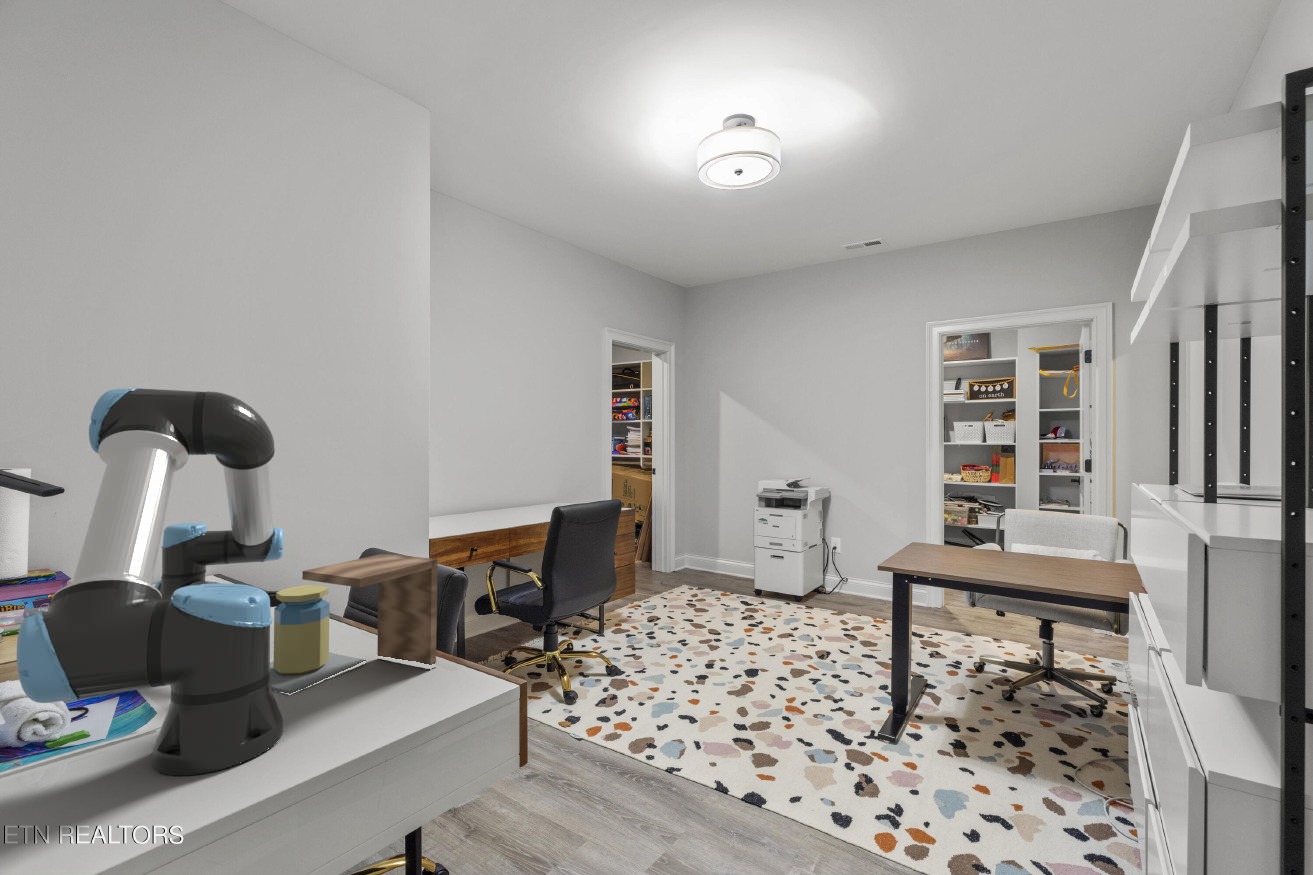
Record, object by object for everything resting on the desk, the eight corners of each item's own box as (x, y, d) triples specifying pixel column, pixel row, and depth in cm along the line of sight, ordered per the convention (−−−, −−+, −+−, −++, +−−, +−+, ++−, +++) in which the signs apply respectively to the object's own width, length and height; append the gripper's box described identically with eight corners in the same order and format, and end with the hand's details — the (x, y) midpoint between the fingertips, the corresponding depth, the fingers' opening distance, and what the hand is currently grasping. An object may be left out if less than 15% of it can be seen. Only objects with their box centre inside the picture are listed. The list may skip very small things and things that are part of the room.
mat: (366, 663, 117) (366, 659, 117) (289, 695, 103) (289, 691, 103) (310, 652, 123) (310, 648, 123) (230, 680, 109) (230, 676, 109)
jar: (298, 680, 107) (299, 598, 107) (261, 673, 110) (262, 593, 110) (339, 662, 116) (340, 586, 116) (304, 656, 119) (305, 582, 119)
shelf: (435, 667, 116) (437, 559, 116) (357, 705, 99) (359, 578, 99) (383, 656, 121) (384, 553, 122) (300, 691, 104) (302, 571, 105)
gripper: (269, 603, 136) (334, 615, 127) (141, 636, 112) (210, 652, 104) (270, 571, 136) (335, 580, 127) (141, 597, 113) (211, 610, 104)
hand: (279, 613), depth 116 cm, fingers open, 13 cm apart
